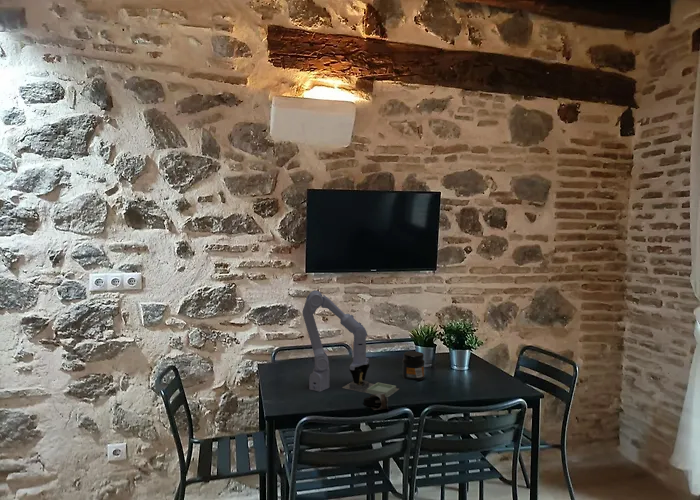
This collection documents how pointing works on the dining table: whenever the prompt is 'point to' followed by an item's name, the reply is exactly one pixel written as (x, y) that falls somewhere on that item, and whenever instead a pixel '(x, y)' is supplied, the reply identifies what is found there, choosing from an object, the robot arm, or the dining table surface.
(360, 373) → the lock pin
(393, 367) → the dining table surface
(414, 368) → the supplement container
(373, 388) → the tray
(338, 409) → the dining table surface
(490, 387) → the dining table surface
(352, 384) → the tensioner collar
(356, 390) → the plate
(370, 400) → the caster wheel
